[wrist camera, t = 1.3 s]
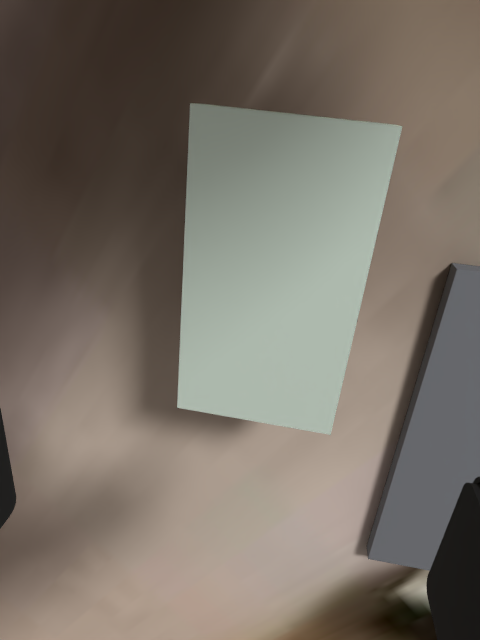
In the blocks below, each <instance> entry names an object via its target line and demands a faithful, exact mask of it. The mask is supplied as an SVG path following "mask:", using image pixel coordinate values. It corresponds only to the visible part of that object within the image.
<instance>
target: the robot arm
mask: <svg viewBox="0 0 480 640" xmlns="http://www.w3.org/2000/svg"><path fill="white" fill-rule="evenodd" d="M15 503H16V493H15V488H14V482H13V476H12V471H11V465H10V459H9V454H8V448H7V442H6V437H5V431H4V425H3V420H2V414H1V409H0V528H1V527H2V526H3V524H4V523H5V522H6V520H7V519H8V518H9V516H10V515H11V513H12V511H13V509H14V507H15ZM427 595H428V600H429V605H430V609H431V613H432V618H433V622H434V626H435V631H436V635H437V640H480V477H477V478H475V480H474V481H473V483H465V484H464V486H463V488H462V490H461V493H460V495H459V498H458V500H457V503H456V506H455V508H454V511H453V513H452V516H451V518H450V521H449V523H448V526H447V528H446V531H445V533H444V536H443V538H442V541H441V544H440V546H439V549H438V551H437V554H436V556H435V559H434V561H433V564H432V566H431V569H430V571H429V574H428V578H427Z"/></svg>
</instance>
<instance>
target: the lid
mask: <svg viewBox="0 0 480 640" xmlns="http://www.w3.org/2000/svg"><path fill="white" fill-rule="evenodd" d="M401 130H402V126H399V125H394V124H385V123H376V122H367V121H357V120H348V119H339V118H330V117H321V116H311V115H302V114H293V113H284V112H275V111H265V110H256V109H247V108H238V107H228V106H219V105H210V104H201V103H190V118H189V141H188V165H187V188H186V212H185V235H184V259H183V282H182V306H181V330H180V353H179V377H178V400H177V408H182V409H187V410H193V411H199V412H204V413H210V414H216V415H221V416H227V417H233V418H238V419H244V420H250V421H255V422H261V423H267V424H272V425H278V426H284V427H289V428H295V429H301V430H306V431H312V432H318V433H323V434H329V435H331V430H332V426H333V422H334V418H335V413H336V409H337V405H338V400H339V396H340V392H341V388H342V383H343V379H344V375H345V370H346V366H347V362H348V357H349V353H350V349H351V345H352V340H353V336H354V332H355V327H356V323H357V319H358V314H359V310H360V306H361V302H362V297H363V293H364V289H365V284H366V280H367V276H368V272H369V267H370V263H371V259H372V254H373V250H374V246H375V241H376V237H377V233H378V229H379V224H380V220H381V216H382V211H383V207H384V203H385V199H386V194H387V190H388V186H389V181H390V177H391V173H392V168H393V164H394V160H395V156H396V151H397V147H398V143H399V138H400V134H401Z"/></svg>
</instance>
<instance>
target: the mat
mask: <svg viewBox="0 0 480 640" xmlns="http://www.w3.org/2000/svg"><path fill="white" fill-rule="evenodd" d="M477 477H480V266H472V265H464V264H456V263H452V264H451V268H450V271H449V274H448V278H447V281H446V284H445V288H444V291H443V294H442V298H441V301H440V304H439V308H438V311H437V314H436V318H435V321H434V324H433V328H432V331H431V334H430V338H429V341H428V344H427V348H426V351H425V354H424V358H423V361H422V364H421V368H420V371H419V374H418V378H417V381H416V384H415V388H414V391H413V394H412V398H411V401H410V404H409V408H408V411H407V414H406V418H405V421H404V424H403V428H402V431H401V434H400V438H399V441H398V444H397V448H396V451H395V454H394V458H393V461H392V464H391V468H390V471H389V474H388V478H387V481H386V484H385V488H384V491H383V494H382V498H381V501H380V504H379V508H378V511H377V514H376V518H375V521H374V524H373V528H372V531H371V534H370V537H369V541H368V544H367V553H368V559H372V560H377V561H382V562H388V563H393V564H398V565H403V566H409V567H414V568H419V569H424V570H430V569H431V566H432V564H433V561H434V559H435V556H436V554H437V551H438V549H439V546H440V544H441V541H442V538H443V536H444V533H445V531H446V528H447V526H448V523H449V521H450V518H451V516H452V513H453V511H454V508H455V506H456V503H457V500H458V498H459V495H460V493H461V490H462V488H463V486H464V484H465V483H473V481H474V480H475V478H477Z"/></svg>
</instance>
